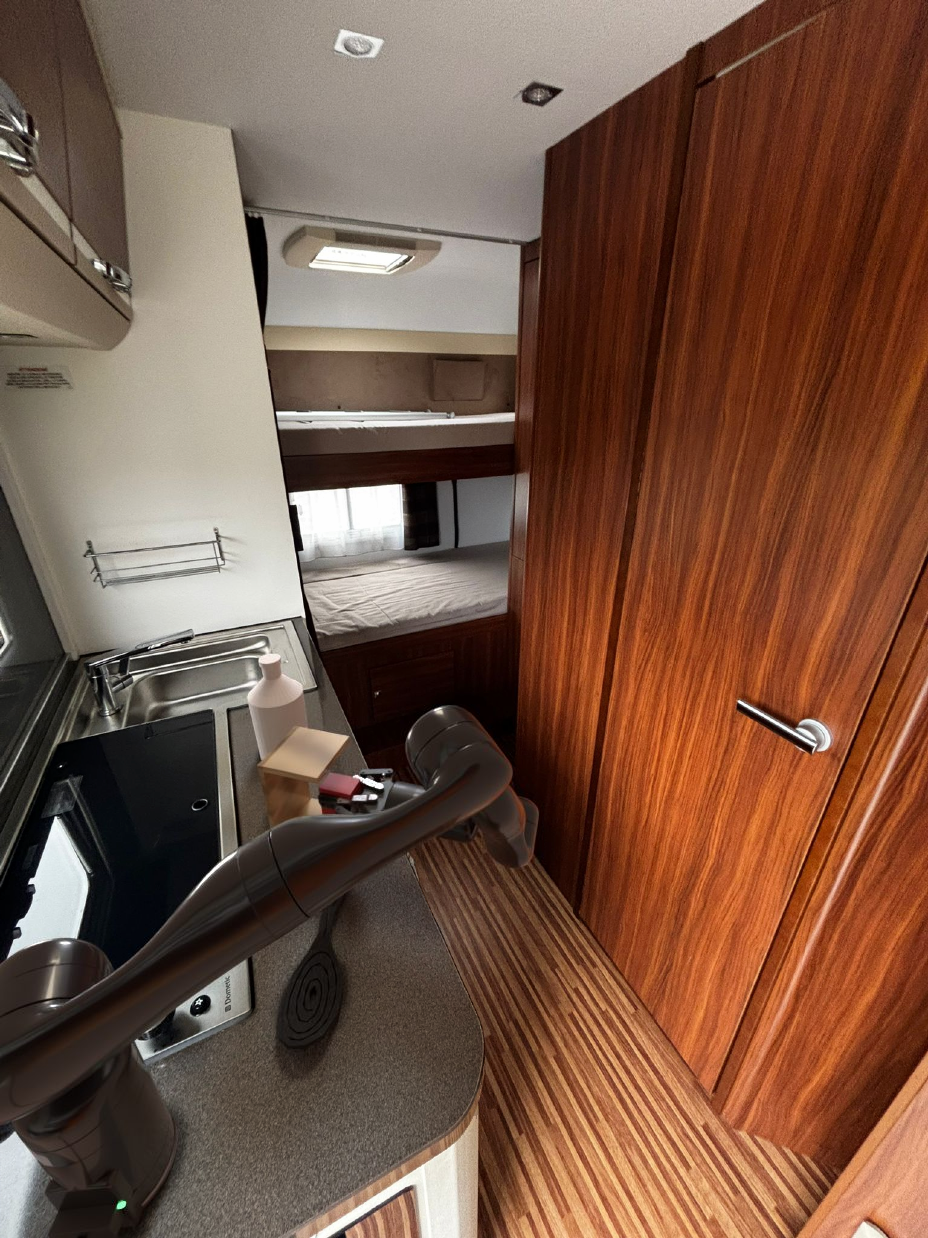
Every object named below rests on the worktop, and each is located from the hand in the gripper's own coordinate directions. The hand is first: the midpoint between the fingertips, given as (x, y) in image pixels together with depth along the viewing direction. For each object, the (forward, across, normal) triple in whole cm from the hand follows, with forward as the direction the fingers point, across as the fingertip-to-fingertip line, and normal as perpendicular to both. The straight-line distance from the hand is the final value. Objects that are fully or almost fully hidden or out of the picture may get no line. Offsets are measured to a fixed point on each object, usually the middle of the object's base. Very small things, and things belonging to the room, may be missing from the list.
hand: (326, 789), depth 87 cm
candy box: (-3, 0, +8) cm, 8 cm away
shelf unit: (+3, 0, +14) cm, 15 cm away
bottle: (+25, -22, +14) cm, 36 cm away
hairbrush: (-8, +19, +15) cm, 25 cm away
